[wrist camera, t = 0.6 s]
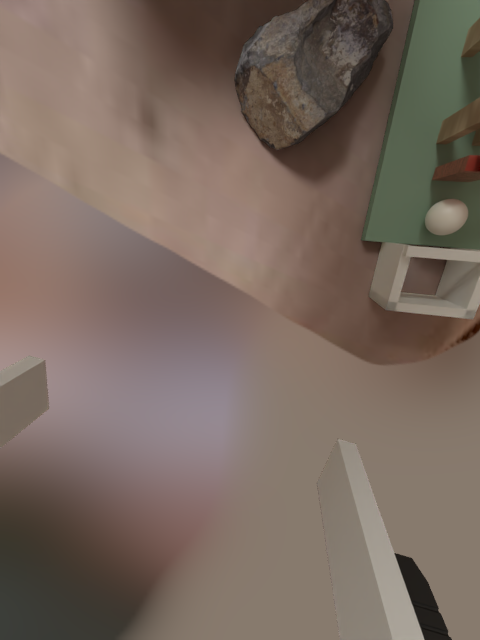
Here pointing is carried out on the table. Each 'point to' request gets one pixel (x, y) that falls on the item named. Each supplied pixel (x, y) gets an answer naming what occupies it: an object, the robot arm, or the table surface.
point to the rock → (308, 65)
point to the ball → (446, 217)
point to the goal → (453, 291)
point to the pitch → (427, 130)
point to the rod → (459, 170)
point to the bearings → (475, 113)
